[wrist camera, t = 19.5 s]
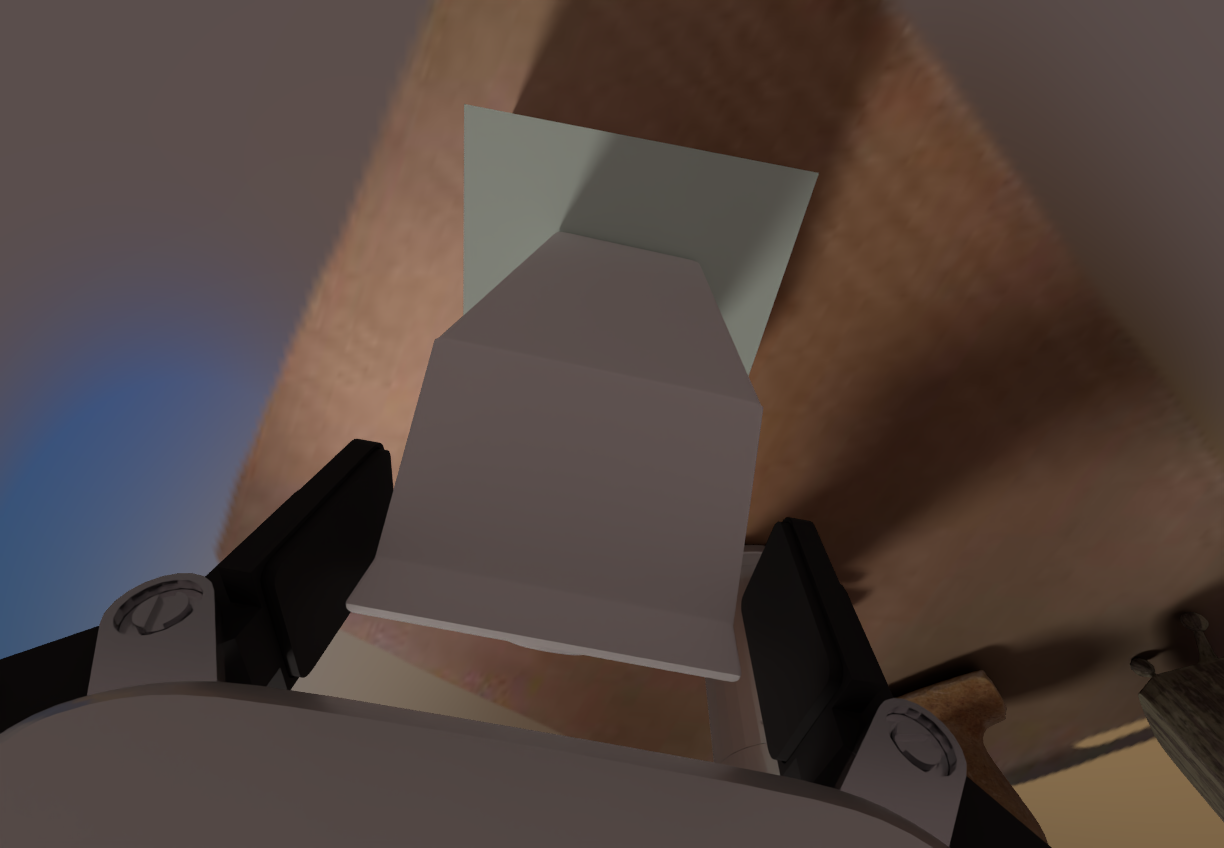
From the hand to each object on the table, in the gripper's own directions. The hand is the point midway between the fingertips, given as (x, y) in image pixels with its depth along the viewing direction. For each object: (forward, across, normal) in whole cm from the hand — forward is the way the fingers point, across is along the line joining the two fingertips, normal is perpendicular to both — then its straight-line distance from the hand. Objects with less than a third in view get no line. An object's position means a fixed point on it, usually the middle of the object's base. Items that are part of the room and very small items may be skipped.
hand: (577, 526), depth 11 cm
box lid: (+16, 0, -1) cm, 16 cm away
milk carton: (+16, 0, 0) cm, 16 cm away
